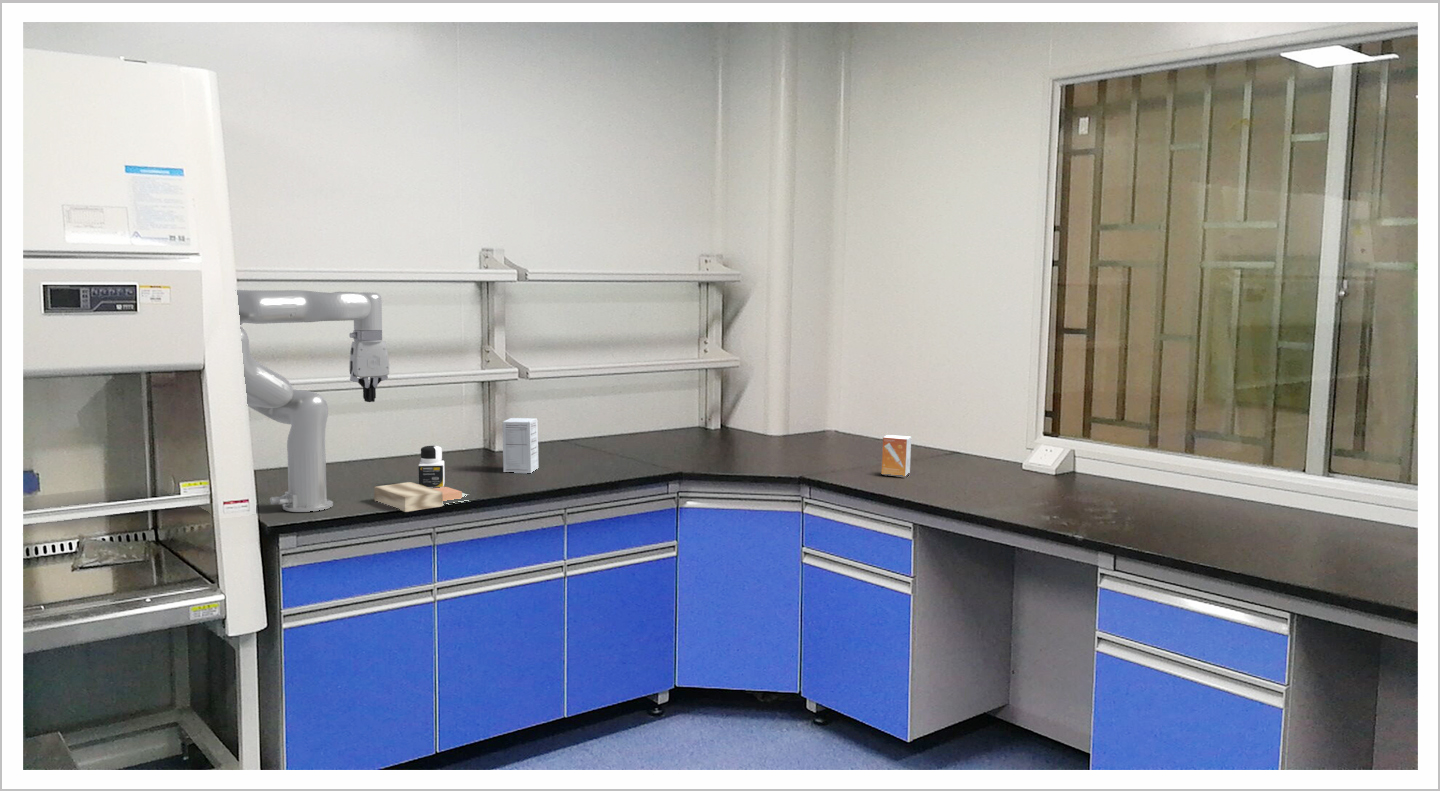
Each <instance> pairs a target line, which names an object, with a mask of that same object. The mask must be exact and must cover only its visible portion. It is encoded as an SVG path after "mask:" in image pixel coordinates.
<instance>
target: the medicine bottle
mask: <svg viewBox="0 0 1440 791" xmlns="http://www.w3.org/2000/svg"><path fill="white" fill-rule="evenodd" d="M442 459H443V450H442V447H441V446H438V445H426V446H422V447H421V448H420V461H419V463H418V465H417V466H418V469H417V470H418V471H417V472H418V473H417V474H418V475H417V476H418V479H417V480H418V484H419V485H422V486H425V487H428V488H432V489H433V487H445V484H446V480H445V479H446V478H445V476H446V475H445V471H446V470H445V460H442Z"/></svg>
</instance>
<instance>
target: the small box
mask: <svg viewBox="0 0 1440 791" xmlns="http://www.w3.org/2000/svg"><path fill="white" fill-rule="evenodd" d="M881 448H882V450H881V451H882V452H881V474H891V475H903V476H906V475H907V474H908V473H910V474H911V457H912V456H911V452H912V449H911V448H912V436H907V435H895V434H886V435H885V436H883V437H882V447H881ZM881 474H880V475H881Z"/></svg>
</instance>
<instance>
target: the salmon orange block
mask: <svg viewBox="0 0 1440 791" xmlns="http://www.w3.org/2000/svg"><path fill="white" fill-rule="evenodd" d="M432 489H435V490H438V491H441V492H442V501H447V500H454V499H461V498H462V493H463V491H462V490H459V489H455V488H451V487H448V486H444V487H440V488H432Z"/></svg>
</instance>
